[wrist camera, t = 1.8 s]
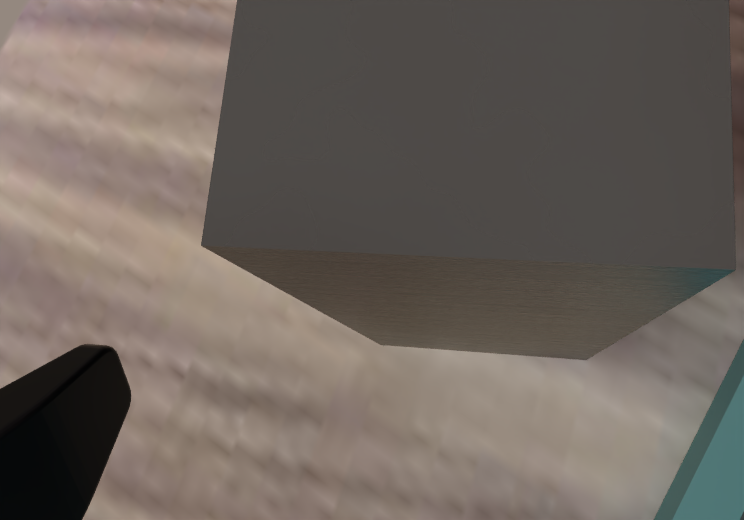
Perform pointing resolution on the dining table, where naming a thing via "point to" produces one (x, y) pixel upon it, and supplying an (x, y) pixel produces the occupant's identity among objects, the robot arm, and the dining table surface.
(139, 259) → the dining table surface
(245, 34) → the lock block
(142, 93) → the dining table surface
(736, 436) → the dock plate
